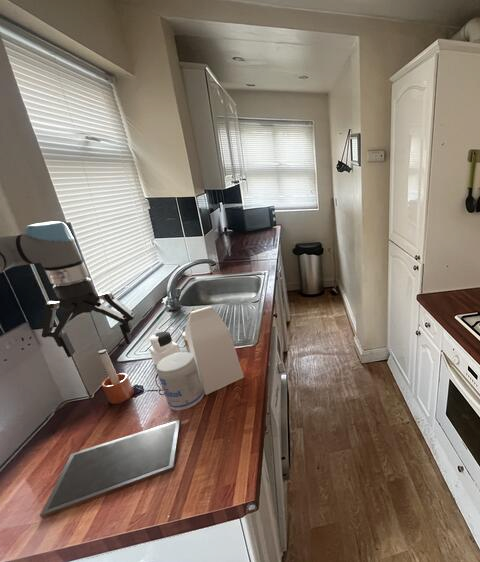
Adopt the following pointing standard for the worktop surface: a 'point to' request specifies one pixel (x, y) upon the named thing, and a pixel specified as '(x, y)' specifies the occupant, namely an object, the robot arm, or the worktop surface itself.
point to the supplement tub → (180, 380)
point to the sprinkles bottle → (186, 341)
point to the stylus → (108, 366)
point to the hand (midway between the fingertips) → (101, 348)
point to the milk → (212, 349)
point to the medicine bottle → (162, 346)
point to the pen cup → (118, 389)
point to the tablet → (114, 467)
